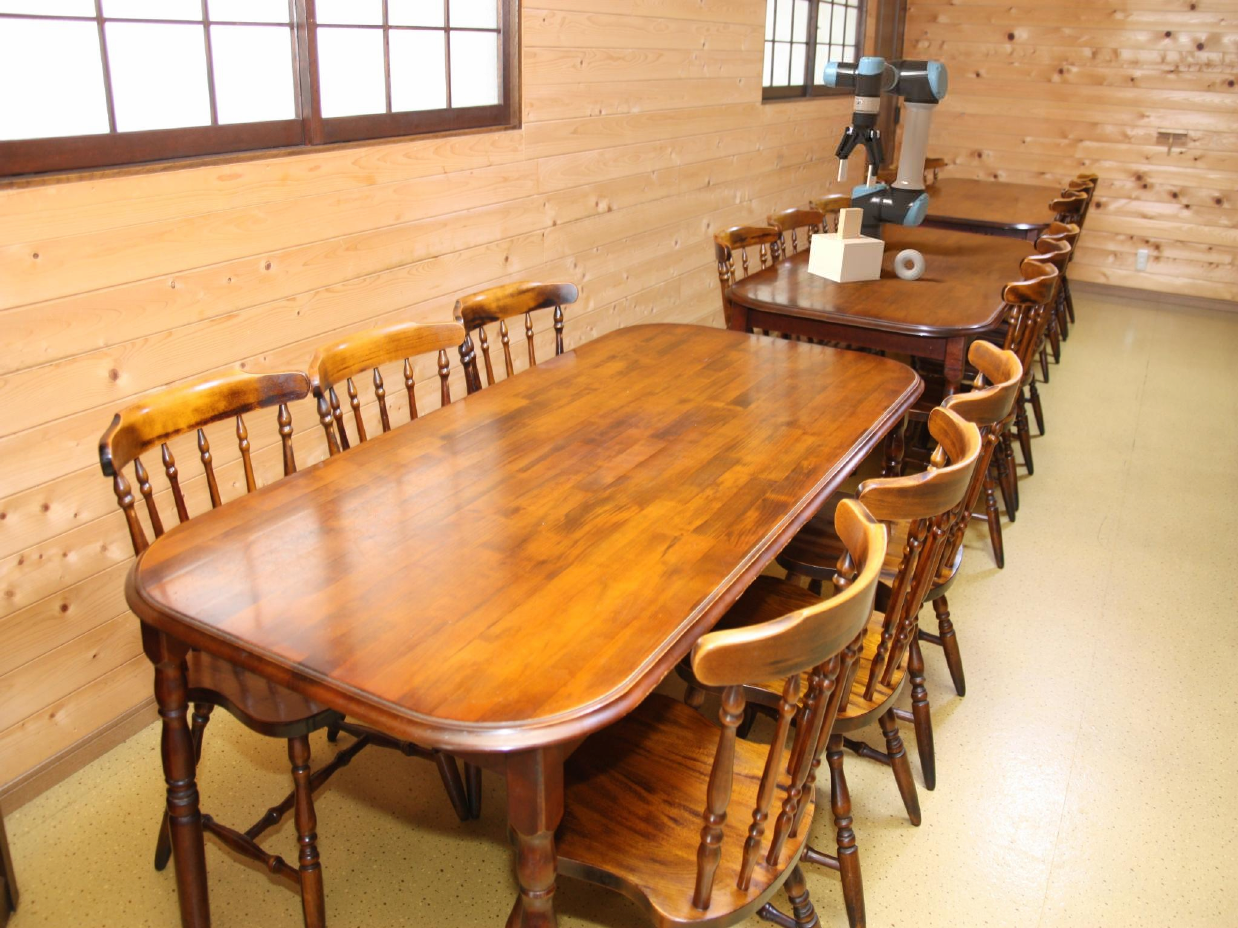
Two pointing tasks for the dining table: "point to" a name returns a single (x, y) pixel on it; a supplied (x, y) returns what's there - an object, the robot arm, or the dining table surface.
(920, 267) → the donut
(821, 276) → the mat
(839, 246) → the cube with upright tab
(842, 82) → the robot arm
